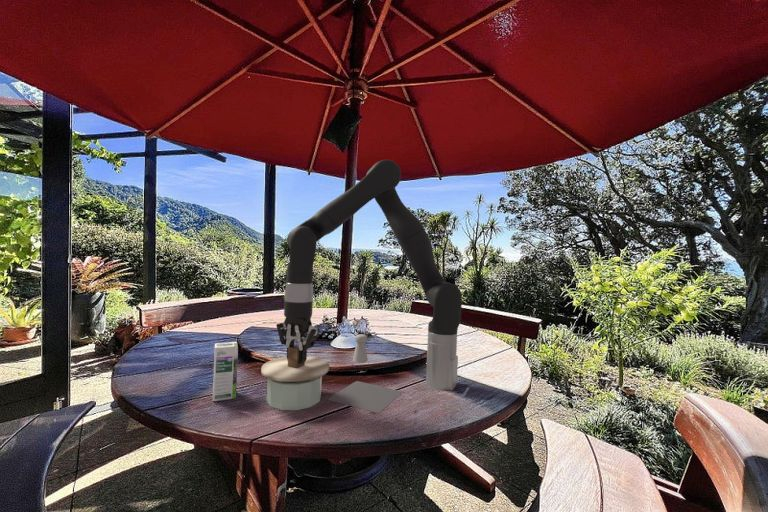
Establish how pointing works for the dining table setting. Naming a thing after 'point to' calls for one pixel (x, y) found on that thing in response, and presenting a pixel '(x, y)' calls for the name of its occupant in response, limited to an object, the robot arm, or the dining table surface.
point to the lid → (294, 367)
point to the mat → (366, 396)
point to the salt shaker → (360, 350)
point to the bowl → (293, 394)
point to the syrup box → (225, 371)
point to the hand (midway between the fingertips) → (296, 361)
